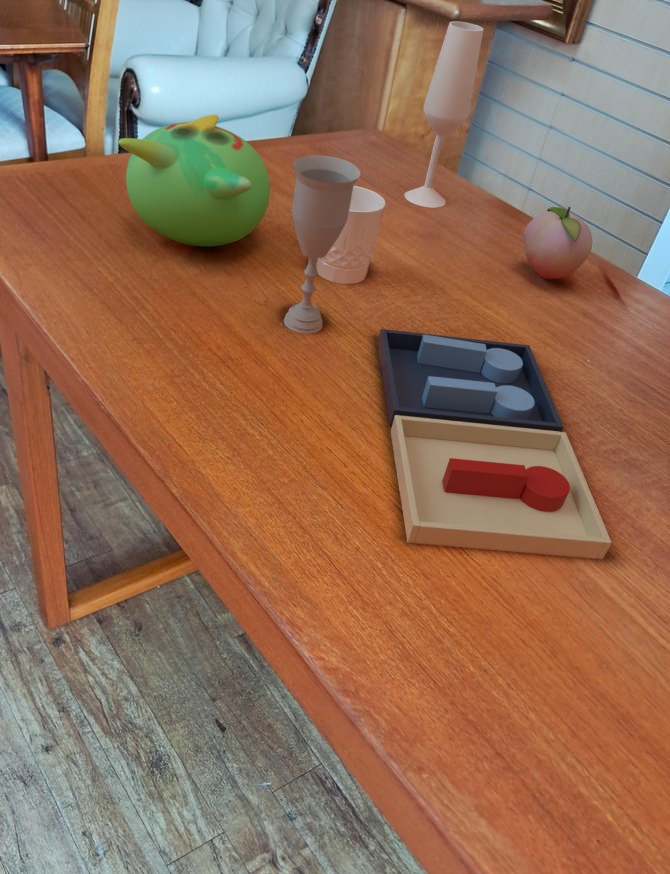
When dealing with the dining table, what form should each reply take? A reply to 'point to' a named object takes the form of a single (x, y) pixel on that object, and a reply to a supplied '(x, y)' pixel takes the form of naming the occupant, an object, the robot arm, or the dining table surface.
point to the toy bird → (197, 183)
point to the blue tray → (410, 378)
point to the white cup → (354, 240)
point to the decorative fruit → (556, 243)
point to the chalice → (318, 223)
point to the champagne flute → (449, 98)
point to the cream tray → (483, 515)
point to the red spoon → (507, 482)
